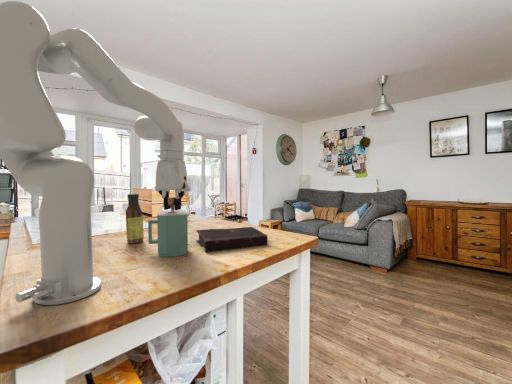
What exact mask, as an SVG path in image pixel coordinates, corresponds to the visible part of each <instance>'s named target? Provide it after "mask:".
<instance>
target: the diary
mask: <svg viewBox="0 0 512 384" xmlns="http://www.w3.org/2000/svg"><path fill="white" fill-rule="evenodd" d="M196 233H197V234H198V240H197V239H196V240H195V241H196V243H197V244H198V245H199V246H200V247H201V248H204V249H205V250H204V252H205V253H211V252H219V251H227V250H237V249H245V248H253V247H261V246H262V247H263V246H267V245H268V242H269V241H268V235H267V234H265V233H263V232H262V231H260V229H257V228H255V227H253V226H245V227H236V228H235V227H233V228H207V229H196Z"/></svg>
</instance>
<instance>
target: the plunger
mask: <svg viewBox="0 0 512 384" xmlns="http://www.w3.org/2000/svg"><path fill="white" fill-rule="evenodd" d="M174 199H176V196H169V197H168V198H167V205H171V209H170V211H171V213H174V211H175V210H174Z"/></svg>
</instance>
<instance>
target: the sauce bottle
mask: <svg viewBox="0 0 512 384" xmlns="http://www.w3.org/2000/svg"><path fill="white" fill-rule="evenodd" d="M139 197H140V196H139V193H128V194H127V201H128V206H127V208H126V210H125V228H126V229H125V230H126V231H125V232H126V241H127V244H140V243H143V242H144V219H143V218H144V217H143V216H144V215H143V212H142V208H141V206H140V203H139Z"/></svg>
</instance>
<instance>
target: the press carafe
mask: <svg viewBox="0 0 512 384" xmlns="http://www.w3.org/2000/svg"><path fill="white" fill-rule="evenodd" d="M156 218H157V219H148V220H147V223H148V224H147V225H148V226H147V227H148V232H147V233H148V245H154V244H157V254H158V256H159V257H162V258H175V257H176V258H177V257H182V256H184V255H186V254H188V252H189V249H188V247H189V244H188V242H189V240H188V238H189V237H188V212H187V211H186V210H185V209H182V210H181V209H180V210H174V213H171V210H160V211H159V212H158V213H157V217H156ZM153 224H157V238H154V239H153Z"/></svg>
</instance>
